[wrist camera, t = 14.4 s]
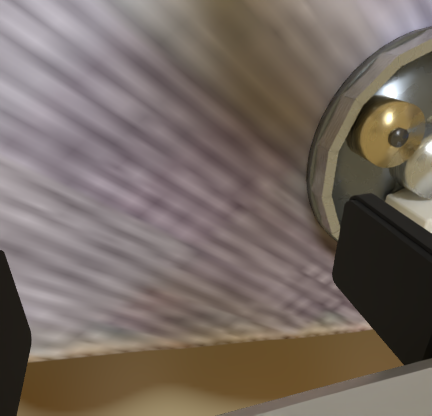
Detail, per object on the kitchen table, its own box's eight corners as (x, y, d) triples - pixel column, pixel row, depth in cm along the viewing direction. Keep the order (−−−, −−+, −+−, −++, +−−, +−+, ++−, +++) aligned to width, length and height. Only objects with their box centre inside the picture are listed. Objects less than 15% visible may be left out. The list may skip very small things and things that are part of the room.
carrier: (323, 27, 37) (357, 30, 32) (546, 23, 43) (601, 24, 39) (295, 264, 50) (315, 290, 46) (467, 233, 57) (501, 253, 52)
